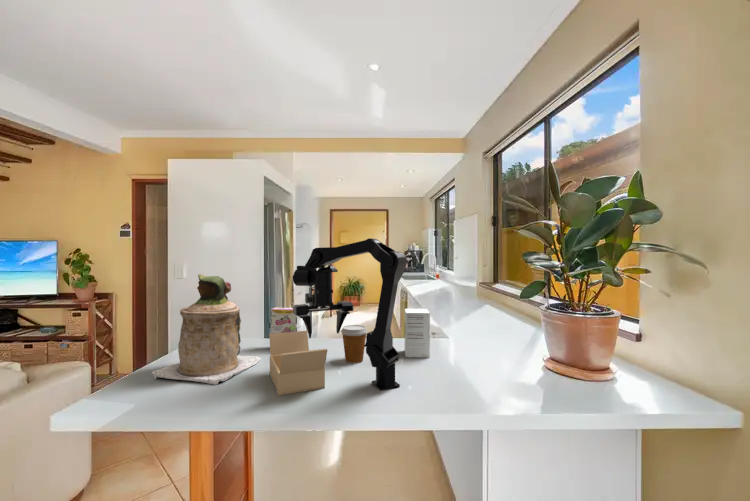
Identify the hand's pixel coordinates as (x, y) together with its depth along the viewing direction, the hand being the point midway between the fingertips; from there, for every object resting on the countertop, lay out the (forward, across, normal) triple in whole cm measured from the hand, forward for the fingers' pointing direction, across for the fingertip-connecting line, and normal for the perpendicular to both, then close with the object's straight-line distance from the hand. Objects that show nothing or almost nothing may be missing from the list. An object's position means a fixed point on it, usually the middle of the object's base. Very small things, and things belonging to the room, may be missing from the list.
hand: (324, 334), depth 114 cm
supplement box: (+13, -39, -7) cm, 42 cm away
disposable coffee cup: (+13, -14, -9) cm, 21 cm away
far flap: (+3, +10, -8) cm, 13 cm away
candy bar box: (+12, +6, -35) cm, 38 cm away
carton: (+12, +10, +3) cm, 16 cm away
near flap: (+4, +10, +13) cm, 17 cm away
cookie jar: (+12, +34, -20) cm, 41 cm away
